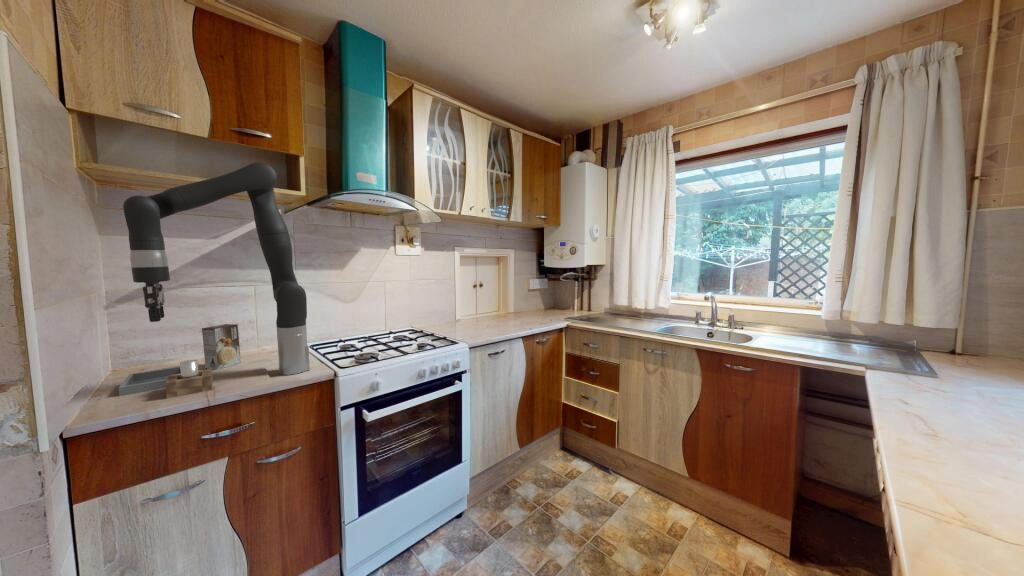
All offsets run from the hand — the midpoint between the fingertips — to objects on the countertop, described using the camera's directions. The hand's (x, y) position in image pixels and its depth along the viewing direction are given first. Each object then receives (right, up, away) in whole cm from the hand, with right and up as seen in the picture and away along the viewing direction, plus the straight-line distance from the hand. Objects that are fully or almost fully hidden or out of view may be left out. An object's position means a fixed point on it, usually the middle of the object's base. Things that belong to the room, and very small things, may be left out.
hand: (157, 319), depth 101 cm
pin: (+6, -22, +5) cm, 24 cm away
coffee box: (-8, -22, +33) cm, 40 cm away
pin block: (+6, -23, +5) cm, 25 cm away
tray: (-12, -23, +11) cm, 28 cm away
